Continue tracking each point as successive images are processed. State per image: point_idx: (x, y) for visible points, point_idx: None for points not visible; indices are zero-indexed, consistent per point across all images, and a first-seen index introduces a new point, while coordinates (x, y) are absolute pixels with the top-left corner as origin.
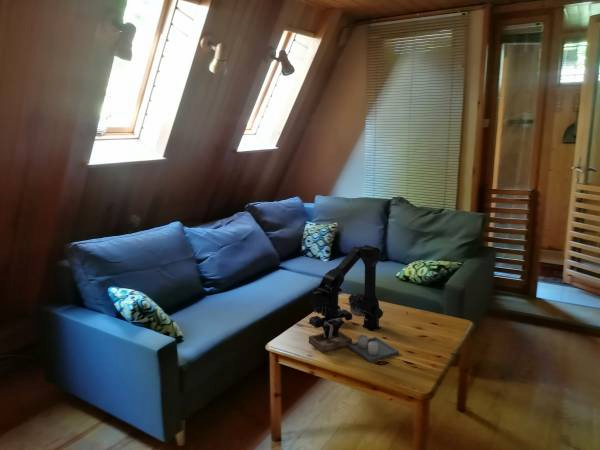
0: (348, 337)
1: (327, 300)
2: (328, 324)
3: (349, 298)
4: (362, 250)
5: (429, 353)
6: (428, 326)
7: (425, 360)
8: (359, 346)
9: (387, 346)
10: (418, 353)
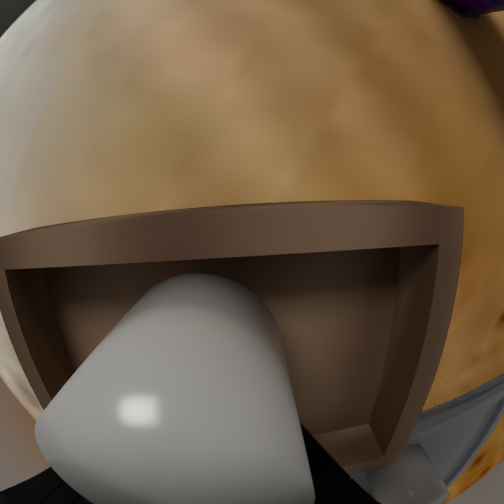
0: (398, 441)
1: None
2: (245, 456)
3: None
4: None
5: (490, 461)
6: None
7: (450, 492)
8: (369, 484)
9: (466, 456)
10: (478, 465)
